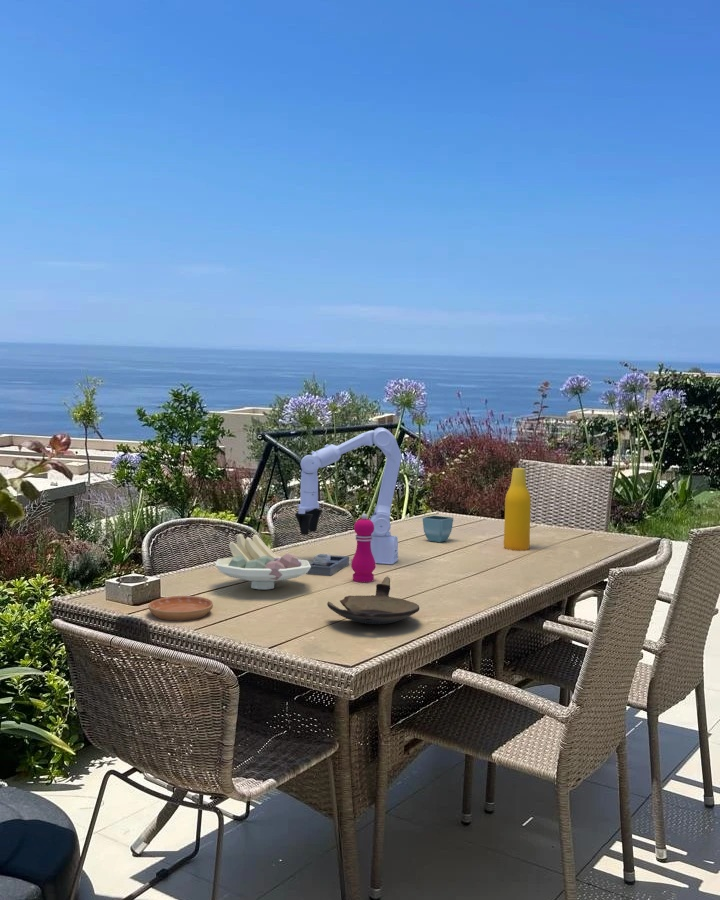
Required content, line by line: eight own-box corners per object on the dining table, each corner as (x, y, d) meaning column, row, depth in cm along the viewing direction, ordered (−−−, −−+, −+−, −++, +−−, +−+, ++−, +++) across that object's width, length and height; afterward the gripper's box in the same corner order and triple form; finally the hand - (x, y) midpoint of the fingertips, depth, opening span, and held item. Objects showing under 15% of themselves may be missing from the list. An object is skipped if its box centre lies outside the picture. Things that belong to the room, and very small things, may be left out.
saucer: (210, 622, 221) (210, 610, 221) (143, 623, 220) (143, 611, 220) (215, 606, 237) (215, 595, 237) (153, 607, 236) (153, 595, 235)
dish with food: (250, 573, 278) (250, 527, 276) (329, 584, 265) (330, 536, 264) (193, 591, 253) (193, 541, 252) (278, 604, 240) (278, 551, 239)
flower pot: (433, 538, 347) (433, 515, 346) (453, 541, 342) (454, 517, 341) (421, 541, 340) (421, 517, 339) (441, 544, 335) (442, 520, 334)
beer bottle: (534, 549, 327) (537, 469, 325) (516, 551, 322) (518, 470, 320) (516, 545, 335) (519, 466, 333) (498, 547, 330) (500, 467, 327)
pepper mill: (363, 576, 276) (364, 511, 275) (380, 580, 271) (381, 514, 269) (346, 579, 271) (347, 513, 270) (363, 583, 266) (364, 516, 264)
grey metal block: (330, 571, 283) (330, 554, 283) (326, 573, 279) (326, 556, 279) (318, 570, 284) (318, 553, 284) (313, 572, 280) (314, 555, 280)
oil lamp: (307, 626, 219) (308, 594, 219) (372, 602, 244) (373, 573, 244) (387, 641, 207) (387, 608, 207) (447, 614, 232) (447, 584, 232)
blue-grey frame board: (349, 564, 294) (349, 556, 294) (330, 575, 276) (330, 567, 276) (325, 562, 296) (325, 555, 296) (305, 573, 278) (305, 565, 278)
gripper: (305, 488, 305) (304, 528, 306) (289, 493, 291) (289, 535, 292) (325, 489, 303) (324, 530, 303) (310, 494, 289) (310, 536, 290)
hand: (308, 532), depth 297 cm, fingers open, 7 cm apart
